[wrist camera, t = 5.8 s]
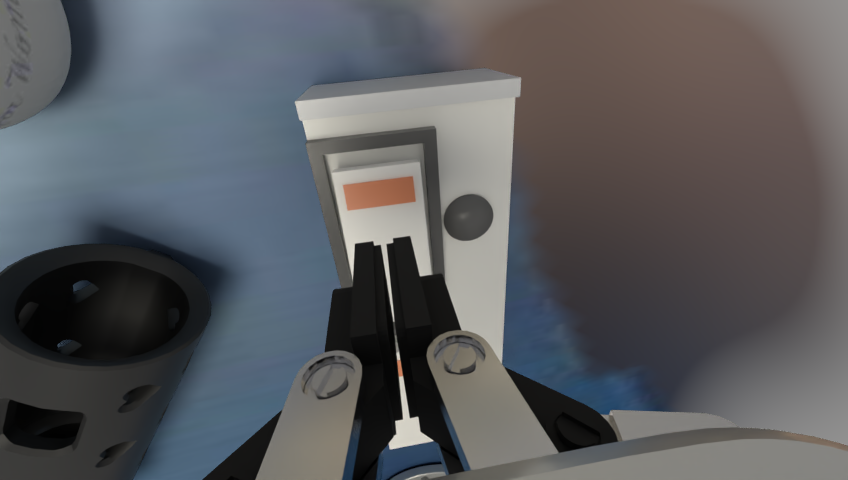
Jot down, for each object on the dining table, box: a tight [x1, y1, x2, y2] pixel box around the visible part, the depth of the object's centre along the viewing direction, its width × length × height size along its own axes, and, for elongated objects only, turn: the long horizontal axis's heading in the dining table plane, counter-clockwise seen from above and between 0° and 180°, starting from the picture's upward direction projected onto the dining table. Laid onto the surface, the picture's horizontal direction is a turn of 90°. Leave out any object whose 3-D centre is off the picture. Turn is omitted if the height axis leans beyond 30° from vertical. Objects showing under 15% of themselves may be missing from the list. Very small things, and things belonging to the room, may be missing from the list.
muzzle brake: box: [0, 244, 211, 480], centre depth 24 cm, size 10×28×10 cm, turn 147°
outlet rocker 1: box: [332, 159, 432, 317], centre depth 18 cm, size 8×4×2 cm, turn 5°
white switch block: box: [295, 68, 521, 444], centre depth 25 cm, size 26×10×6 cm, turn 5°
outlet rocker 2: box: [389, 343, 433, 449], centre depth 24 cm, size 8×4×2 cm, turn 5°
